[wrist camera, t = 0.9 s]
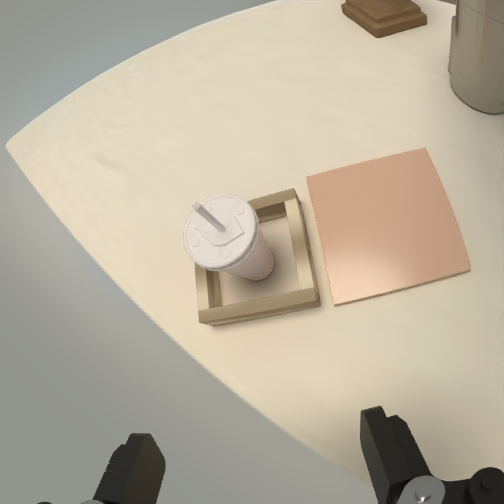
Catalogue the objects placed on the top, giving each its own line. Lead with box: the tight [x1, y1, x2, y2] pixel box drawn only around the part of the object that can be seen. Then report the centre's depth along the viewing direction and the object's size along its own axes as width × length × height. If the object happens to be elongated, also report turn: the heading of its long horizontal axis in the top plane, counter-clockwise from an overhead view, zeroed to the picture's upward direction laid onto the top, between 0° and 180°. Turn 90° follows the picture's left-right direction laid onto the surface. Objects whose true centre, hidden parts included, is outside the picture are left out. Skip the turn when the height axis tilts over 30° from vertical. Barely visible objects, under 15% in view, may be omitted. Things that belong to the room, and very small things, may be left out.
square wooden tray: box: [195, 188, 321, 326], centre depth 33 cm, size 11×11×3 cm
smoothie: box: [183, 194, 274, 281], centre depth 28 cm, size 6×6×14 cm
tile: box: [306, 148, 472, 306], centre depth 30 cm, size 14×14×1 cm
